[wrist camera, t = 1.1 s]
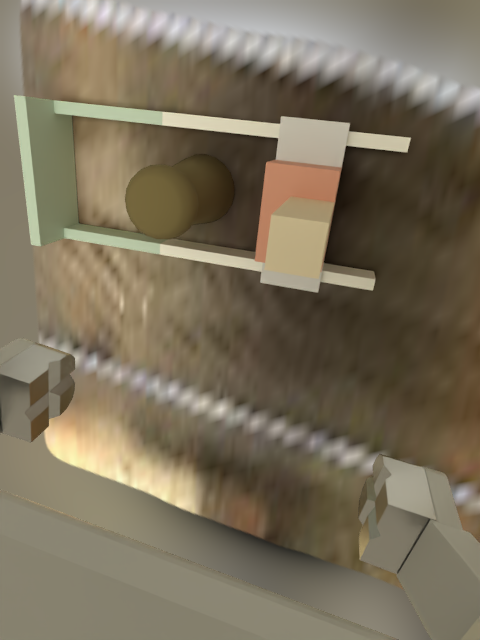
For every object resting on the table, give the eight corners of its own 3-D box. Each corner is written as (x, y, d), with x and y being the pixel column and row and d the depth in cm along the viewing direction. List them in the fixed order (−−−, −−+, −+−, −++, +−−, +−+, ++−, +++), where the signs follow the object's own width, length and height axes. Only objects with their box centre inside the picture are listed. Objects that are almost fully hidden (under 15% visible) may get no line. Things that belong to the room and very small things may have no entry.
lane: (406, 138, 33) (417, 137, 27) (371, 281, 38) (375, 305, 32) (61, 101, 38) (14, 95, 33) (70, 231, 43) (31, 244, 38)
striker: (350, 124, 33) (349, 113, 19) (320, 280, 38) (303, 359, 24) (287, 118, 34) (243, 103, 20) (267, 271, 39) (222, 342, 25)
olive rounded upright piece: (245, 172, 37) (207, 184, 27) (219, 233, 39) (176, 264, 29) (184, 142, 37) (124, 142, 27) (163, 204, 40) (101, 226, 30)
